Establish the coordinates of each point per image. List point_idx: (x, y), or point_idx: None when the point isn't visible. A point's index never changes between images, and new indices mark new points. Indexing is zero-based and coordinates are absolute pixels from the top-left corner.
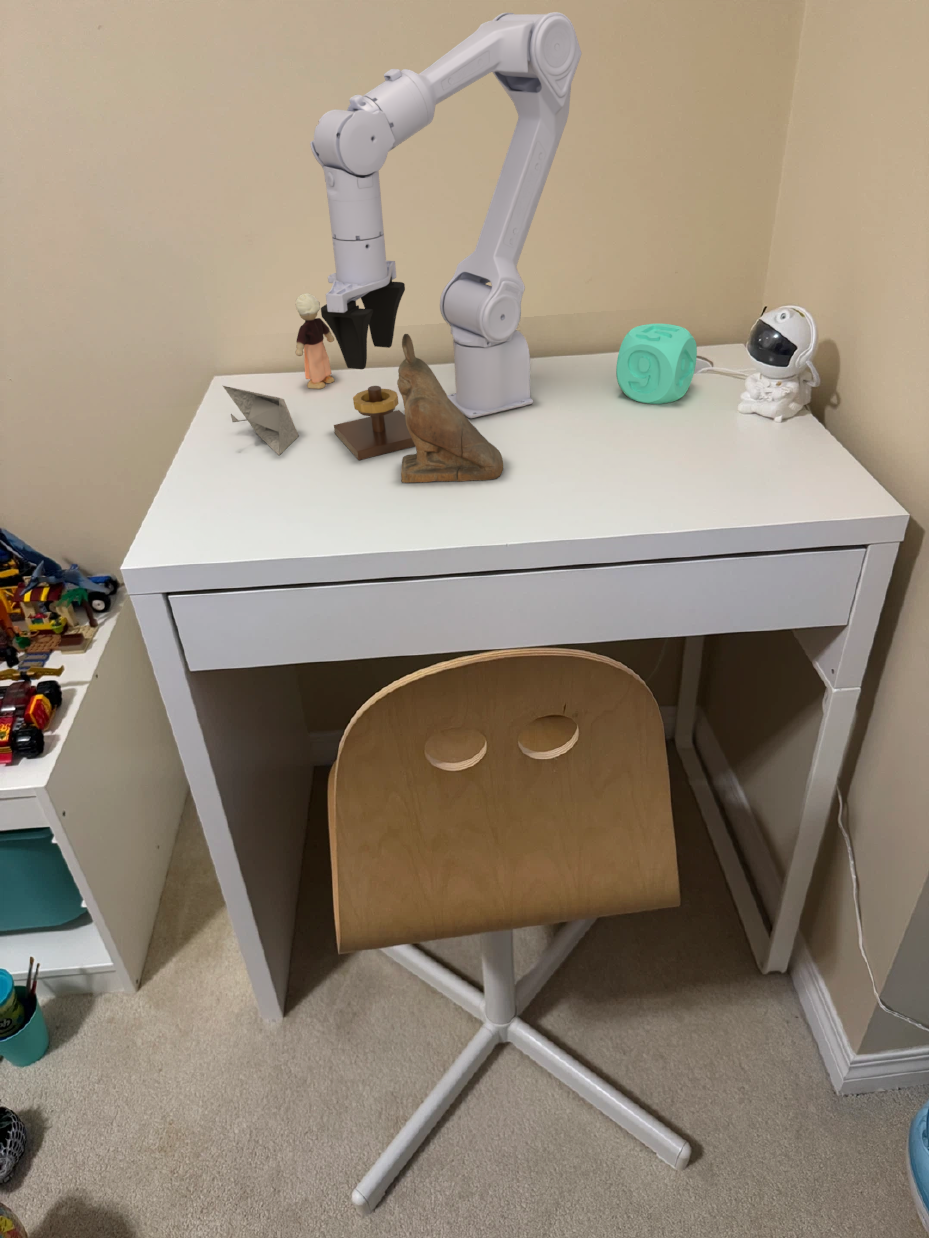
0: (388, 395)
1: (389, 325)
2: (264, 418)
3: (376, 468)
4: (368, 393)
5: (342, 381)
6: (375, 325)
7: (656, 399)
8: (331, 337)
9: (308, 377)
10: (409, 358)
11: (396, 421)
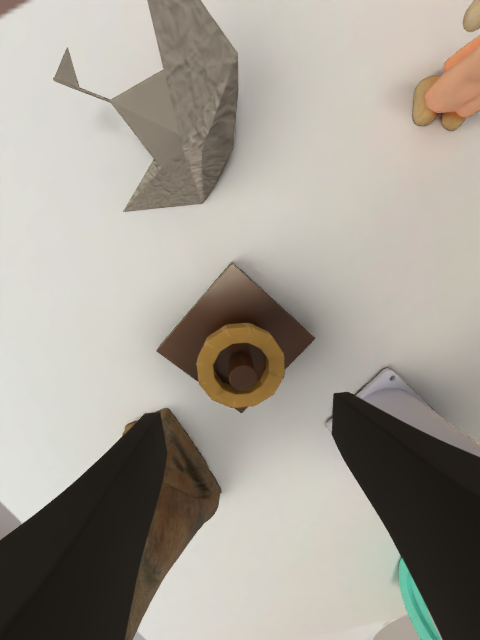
0: (262, 382)
1: (373, 497)
2: (150, 133)
3: (148, 378)
4: (233, 365)
5: (453, 148)
6: (375, 449)
7: (399, 578)
8: None
9: (448, 67)
10: None
11: None
